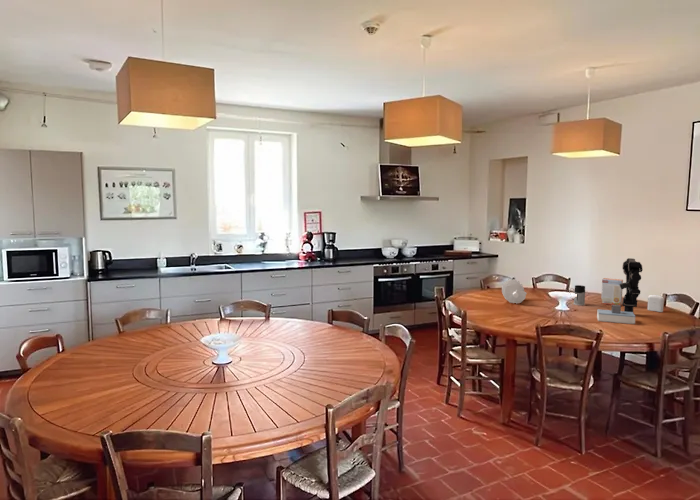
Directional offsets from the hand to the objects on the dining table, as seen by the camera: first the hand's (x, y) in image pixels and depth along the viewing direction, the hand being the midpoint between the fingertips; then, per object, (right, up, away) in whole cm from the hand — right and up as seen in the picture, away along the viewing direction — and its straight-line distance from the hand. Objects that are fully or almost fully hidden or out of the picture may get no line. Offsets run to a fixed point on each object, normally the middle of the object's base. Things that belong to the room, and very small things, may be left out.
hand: (632, 300), depth 325 cm
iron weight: (-14, -8, -4) cm, 16 cm away
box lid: (-14, -9, -4) cm, 17 cm away
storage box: (-14, -14, -3) cm, 20 cm away
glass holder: (-17, -8, +47) cm, 51 cm away
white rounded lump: (-64, -7, +59) cm, 87 cm away
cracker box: (+11, -8, +46) cm, 49 cm away
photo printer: (+32, -11, +24) cm, 42 cm away
